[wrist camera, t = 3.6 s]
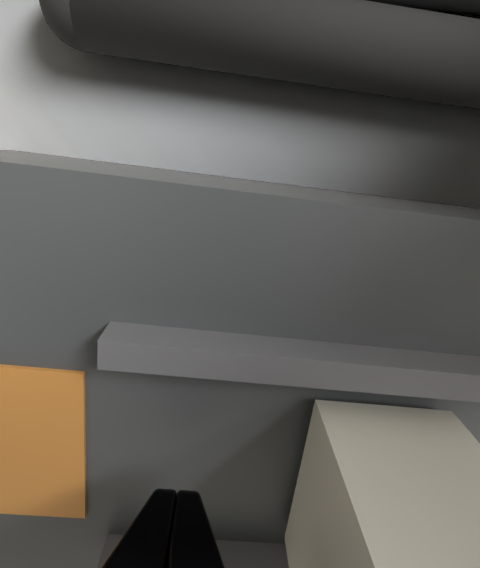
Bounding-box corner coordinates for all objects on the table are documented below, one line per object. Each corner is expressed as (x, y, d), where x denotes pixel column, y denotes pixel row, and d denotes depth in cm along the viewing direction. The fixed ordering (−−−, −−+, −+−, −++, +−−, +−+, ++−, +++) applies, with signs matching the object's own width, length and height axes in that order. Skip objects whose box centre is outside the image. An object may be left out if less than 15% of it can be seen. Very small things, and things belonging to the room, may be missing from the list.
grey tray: (688, 235, 11) (924, 279, 7) (527, 545, 15) (627, 676, 11) (11, 149, 9) (-123, 152, 6) (36, 517, 13) (-34, 655, 10)
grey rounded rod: (723, 75, 9) (819, 60, 8) (689, 145, 10) (773, 144, 8) (57, -32, 8) (18, -74, 7) (59, 54, 9) (25, 34, 7)
